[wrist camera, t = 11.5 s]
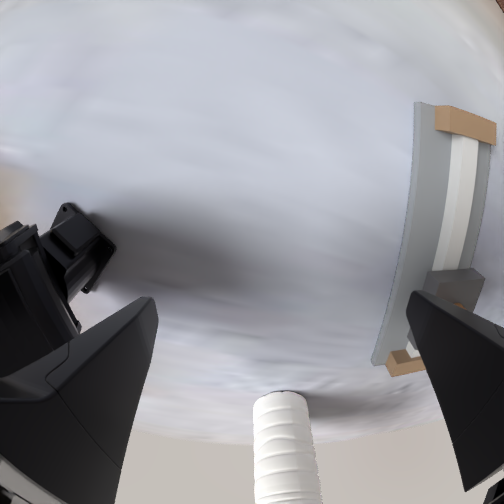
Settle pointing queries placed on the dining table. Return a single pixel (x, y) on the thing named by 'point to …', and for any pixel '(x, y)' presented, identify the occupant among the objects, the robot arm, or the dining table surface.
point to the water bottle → (284, 451)
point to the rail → (436, 216)
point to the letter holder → (501, 4)
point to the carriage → (453, 289)
